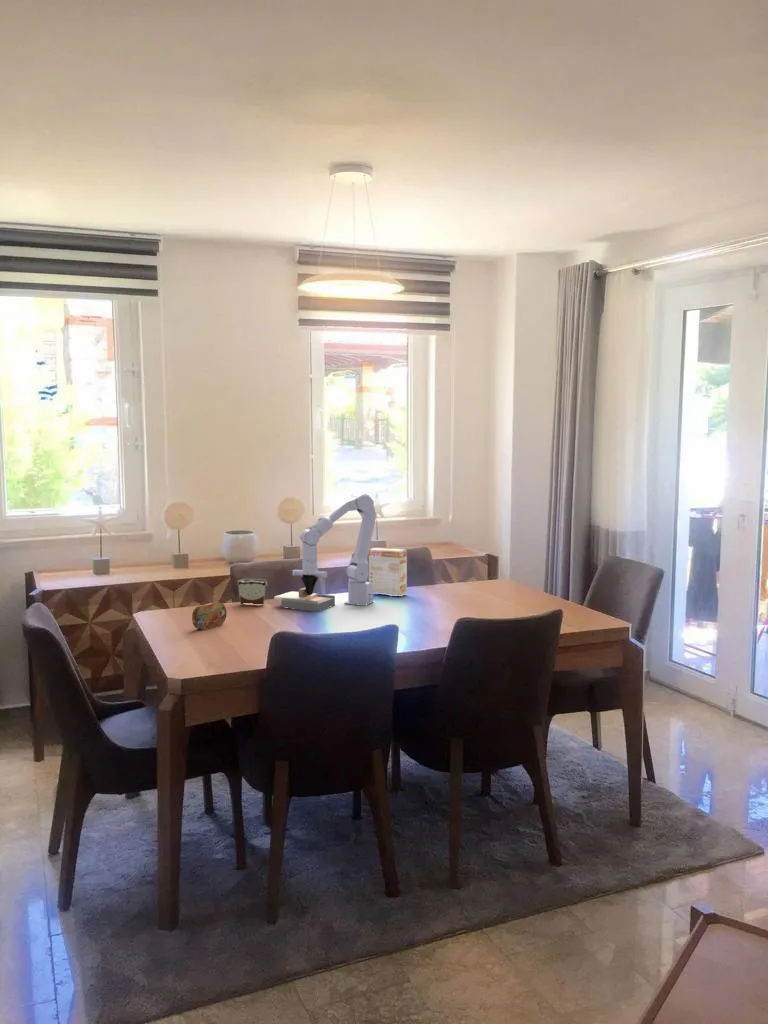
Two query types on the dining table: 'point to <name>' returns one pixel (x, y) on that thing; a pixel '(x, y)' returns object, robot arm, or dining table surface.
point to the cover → (296, 595)
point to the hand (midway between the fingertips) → (309, 594)
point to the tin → (209, 615)
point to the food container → (252, 590)
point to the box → (310, 603)
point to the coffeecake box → (388, 570)
